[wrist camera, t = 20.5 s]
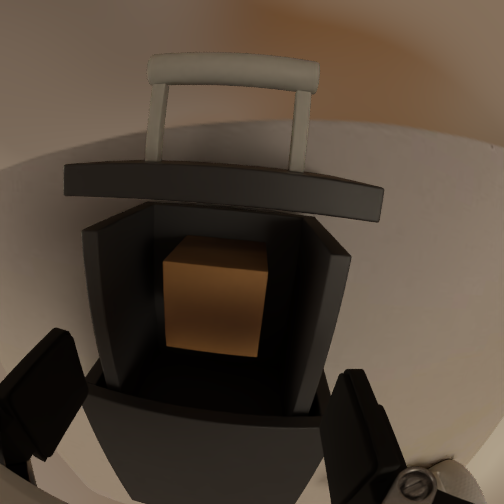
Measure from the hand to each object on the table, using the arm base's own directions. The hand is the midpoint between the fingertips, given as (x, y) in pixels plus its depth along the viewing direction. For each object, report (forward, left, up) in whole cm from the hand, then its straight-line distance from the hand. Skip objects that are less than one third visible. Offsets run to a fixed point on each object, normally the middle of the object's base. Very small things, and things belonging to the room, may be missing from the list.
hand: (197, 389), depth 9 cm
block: (0, 0, -9) cm, 9 cm away
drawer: (-3, 0, -10) cm, 10 cm away
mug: (+33, +35, -11) cm, 49 cm away
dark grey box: (+11, 0, -11) cm, 15 cm away
